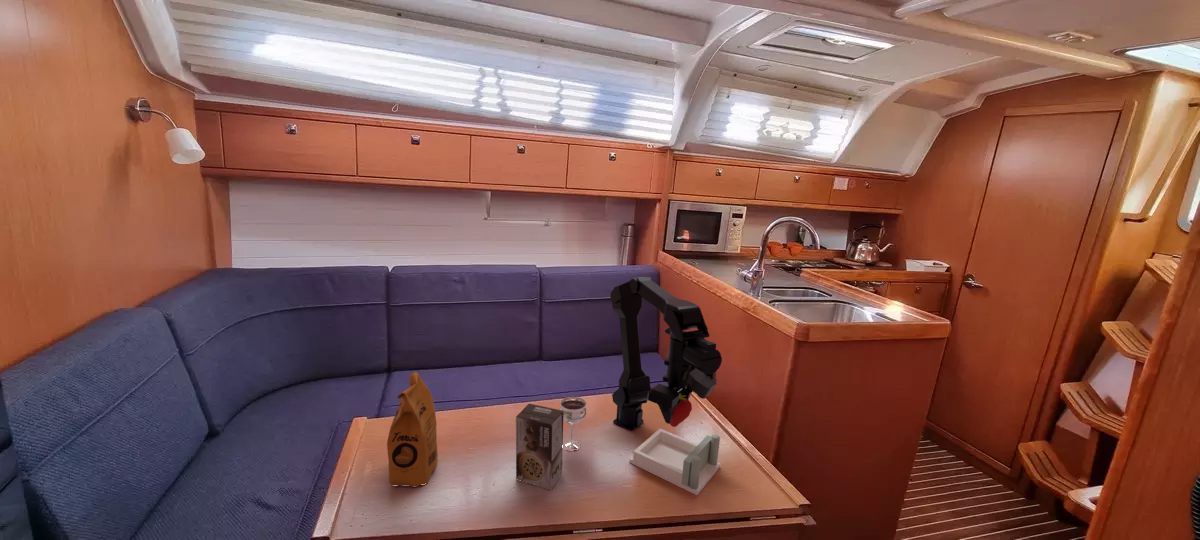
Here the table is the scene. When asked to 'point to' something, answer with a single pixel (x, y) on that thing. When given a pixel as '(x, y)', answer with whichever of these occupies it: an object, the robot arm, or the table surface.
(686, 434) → the table surface
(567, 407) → the wineglass
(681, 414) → the strawberry
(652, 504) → the table surface
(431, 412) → the coffee package
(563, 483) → the table surface
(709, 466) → the cradle stand
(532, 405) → the coffee box
